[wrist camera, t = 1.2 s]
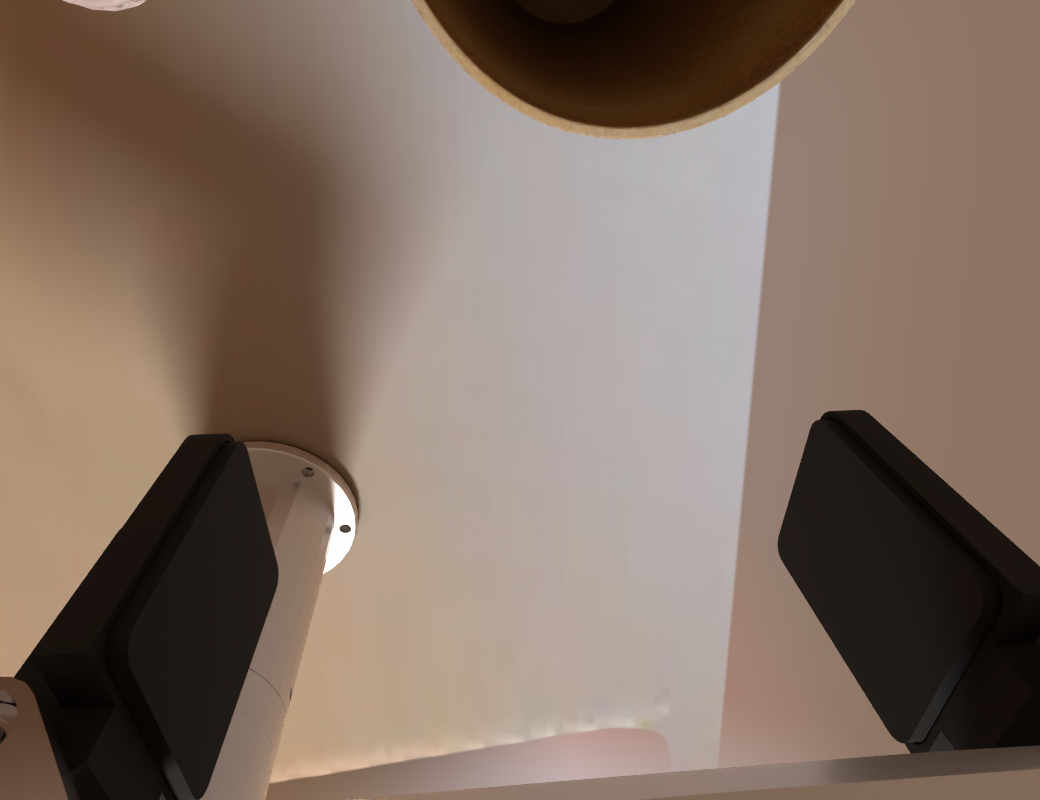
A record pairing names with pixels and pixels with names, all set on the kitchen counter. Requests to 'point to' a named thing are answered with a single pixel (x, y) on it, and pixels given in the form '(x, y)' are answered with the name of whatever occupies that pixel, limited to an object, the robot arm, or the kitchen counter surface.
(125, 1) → the smoothie
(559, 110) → the plant pot
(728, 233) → the kitchen counter surface
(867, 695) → the robot arm
